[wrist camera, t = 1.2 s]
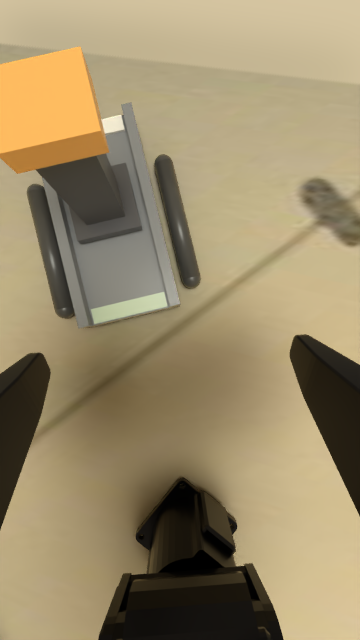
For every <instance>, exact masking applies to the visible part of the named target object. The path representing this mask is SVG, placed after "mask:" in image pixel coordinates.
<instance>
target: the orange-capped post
mask: <svg viewBox="0 0 360 640" xmlns="http://www.w3.org/2000/svg"><path fill="white" fill-rule="evenodd" d="M106 153H109V149H108V145H107V140H106V136H105V132H104V128H103V124H102V120H101V116H100V112H99V107H98V103H97V99H96V95H95V91H94V87H93V83H92V79H91V76H90V73H89V70H88V67H87V64H86V61H85V58H84V55H83V52H82V50H81V47H76V48H72V49H67V50H62V51H58V52H53V53H49V54H44V55H40V56H35V57H31V58H26V59H22V60H17V61H13V62H8V63H4V64H0V158H1V159H2V160H3V161H4V162H5V163H6V164H7V165H8V166H10V167H11V168H12V169H13V170H14V171H15V172H16V173H17V174H18V173H23V172H27V171H31V170H36V171H37V172H38V173H39V174H40V175H41V176H42V177H43V178H44V179H45V180H46V181H47V182H48V184H49V185H50V186H51V187H52V188H53V189H54V190H55V191H56V192H57V193H58V194H59V195H60V197H61V198H62V199H63V200H64V201H65V202H66V203H67V204H68V205H69V209H70V213H71V217H72V221H73V226H74V230H75V234H76V238H77V241H78V242H79V243H80V244H84V243H88V242H92V241H96V240H101V239H105V238H109V237H113V236H118V235H122V234H126V233H130V232H135V231H139V230H142V226H141V222H140V217H139V213H138V209H137V205H136V201H135V197H134V193H133V189H132V184H131V180H130V176H129V172H128V168H127V165H126V163H122V164H117V165H113V166H111V165H110V162H109V160H108V158H107V155H106Z"/></svg>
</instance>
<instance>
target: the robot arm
mask: <svg viewBox="0 0 360 640" xmlns="http://www.w3.org/2000/svg"><path fill="white" fill-rule="evenodd" d="M290 359H291V362H292V365H293V368H294V371H295V374H296V377H297V380H298V383H299V386H300V389H301V392H302V394H303V397H304V399H305V401H306V403H307V406H308V408H309V410H310V412H311V414H312V416H313V418H314V420H315V422H316V425H317V427H318V429H319V431H320V433H321V435H322V437H323V439H324V441H325V444H326V446H327V448H328V450H329V452H330V454H331V456H332V458H333V461H334V463H335V465H336V467H337V469H338V471H339V473H340V475H341V477H342V480H343V482H344V484H345V486H346V488H347V490H348V492H349V494H350V497H351V499H352V501H353V503H354V505H355V507H356V509H357V511H358V513H359V516H360V365H359V364H357V363H356V362H354V361H352V360H350V359H349V358H347V357H345V356H343V355H342V354H340V353H338V352H337V351H335V350H333V349H331V348H330V347H328V346H326V345H324V344H323V343H321V342H319V341H318V340H316V339H314V338H312V337H311V336H309V335H306V334H304V335H296V336H295V337H294V338H293V342H292V346H291V349H290ZM50 374H51V372H50V368H49V366H48V364H47V361H46V359H45V357H44V355H43V354H42V353H30V354H27V355H26V356H25V357H23V358H22V359H20V360H19V361H18V362H16V363H15V364H13V365H12V366H11V367H9V368H8V369H6V370H5V371H4V372H2V373H1V374H0V529H1V526H2V523H3V520H4V518H5V515H6V512H7V509H8V506H9V504H10V501H11V498H12V495H13V492H14V490H15V487H16V484H17V481H18V478H19V476H20V473H21V470H22V467H23V464H24V461H25V459H26V456H27V453H28V450H29V447H30V445H31V442H32V439H33V436H34V433H35V431H36V428H37V425H38V422H39V419H40V416H41V413H42V409H43V405H44V401H45V396H46V392H47V388H48V383H49V379H50ZM180 484H184V486H182V487H181V486H180ZM230 524H233V525H232V526H230ZM236 529H237V523H236V520H235V519H234V518H233V517H232V516H230V515H229V514H228V513H227V512H226V509H225V508H224V507H223V506H222V505H221V504H219V503H218V502H217V501H216V500H215V499H213V498H212V497H211V496H210V495H208V494H207V493H206V492H205V491H200V490H198V489H197V488H196V487H195V486H193V485H192V484H191V483H190V482H189V481H187V480H186V479H184V478H180V479H178V480H177V481H176V483H175V484H174V485H173V486H172V488H171V489H170V490H169V491H168V492H167V494H166V495H165V496H164V497H163V499H162V500H161V501H160V502H159V504H158V505H157V506H156V507H155V509H154V510H153V511H152V512H151V513H150V515H149V516H148V517H147V518H146V520H145V521H144V522H143V523H142V525H141V526H140V527H139V528H138V530H137V532H136V540H137V541H138V542H139V543H140V544H142V545H143V546H144V547H145V548H147V549H148V550H149V557H148V565H147V574H138V575H132V574H131V573H125V574H123V575H122V578H121V581H120V583H119V586H117V589H116V591H115V594H114V597H113V599H112V602H111V605H110V607H109V610H108V613H107V615H106V618H105V621H104V623H103V626H102V629H101V631H100V634H99V639H98V640H283V636H282V632H281V629H280V625H279V622H278V619H277V616H276V613H275V610H274V608H273V605H272V603H271V601H270V599H269V597H268V595H267V592H266V590H265V588H264V586H263V584H262V582H261V580H260V578H259V576H258V574H257V572H256V570H255V568H254V566H253V564H252V563H249V564H244V566H238V567H236V565H235V561H234V557H233V554H234V553H235V551H236V549H235V543H234V540H233V536H232V535H233V533H234V532H235V531H236ZM140 534H143V536H141V535H140Z"/></svg>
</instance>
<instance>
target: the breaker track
mask: <svg viewBox="0 0 360 640" xmlns="http://www.w3.org/2000/svg"><path fill="white" fill-rule="evenodd" d="M121 106H122V110H123V114H124V115H118V116H113V117H109V118H105V119H101V120H102V124H103V128H104V132H105V136H106V140H107V145H108V149H109V153H106V155H107V158H108V160H109V162H110V165H111V166H113V165H117V164H122V163H126V165H127V168H128V172H129V176H130V180H131V184H132V189H133V193H134V197H135V201H136V205H137V209H138V213H139V217H140V222H141V226H142V230H139V231H135V232H130V233H126V234H122V235H118V236H113V237H109V238H105V239H101V240H96V241H92V242H88V243H84V244H80V243H79V242H78V241H77V238H76V234H75V230H74V226H73V221H72V217H71V213H70V209H69V205H68V204H67V203H66V202H65V201H64V200H63V199H62V198H61V197H60V195H59V194H58V193H57V192H56V191H55V190H54V189H53V188H52V187H51V186H50V185H49V184H48V182H47V181H46V180H45V179H44V178H43V177H42V179H43V184H44V187H43V186H41V185H39V184H32V185H30V186H29V187H28V189H27V196H28V200H29V205H30V209H31V213H32V217H33V221H34V225H35V229H36V233H37V238H38V242H39V246H40V250H41V254H42V258H43V262H44V267H45V271H46V275H47V279H48V283H49V287H50V291H51V296H52V300H53V304H54V308H55V312H56V314H57V315H58V316H59V317H61V318H70V317H72V316H73V315H74V313H75V316H76V320H77V324H78V328H91V327H96V326H100V325H104V324H108V323H112V322H116V321H120V320H125V319H129V318H133V317H137V316H141V315H145V314H149V313H154V312H158V311H162V310H166V309H170V308H174V307H178V306H180V301H179V297H178V293H177V289H176V285H175V281H174V276H173V272H172V268H171V264H170V260H169V256H168V252H167V248H166V243H165V239H164V235H163V231H162V227H161V223H160V219H159V215H158V211H157V206H156V202H155V198H154V194H153V190H152V186H151V182H150V178H149V173H148V169H147V165H146V161H145V157H144V153H143V149H142V145H141V140H140V136H139V132H138V128H137V124H136V120H135V116H134V112H133V108H132V103H126V104H122V105H121ZM154 167H155V171H156V175H157V179H158V184H159V188H160V192H161V196H162V200H163V204H164V208H165V212H166V216H167V221H168V225H169V229H170V233H171V237H172V241H173V245H174V249H175V254H176V258H177V262H178V266H179V270H180V274H181V278H182V282H183V284H184V285H185V286H186V287H188V288H195V287H197V286H198V285H199V283H200V280H201V278H200V273H199V269H198V265H197V261H196V256H195V252H194V248H193V244H192V240H191V236H190V232H189V228H188V224H187V219H186V215H185V211H184V207H183V203H182V199H181V195H180V191H179V186H178V182H177V178H176V174H175V170H174V166H173V162H172V160H171V158H170V157H169V156H167V155H165V154H162V155H159V156H158V157H157V158H156V160H155V163H154Z"/></svg>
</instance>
